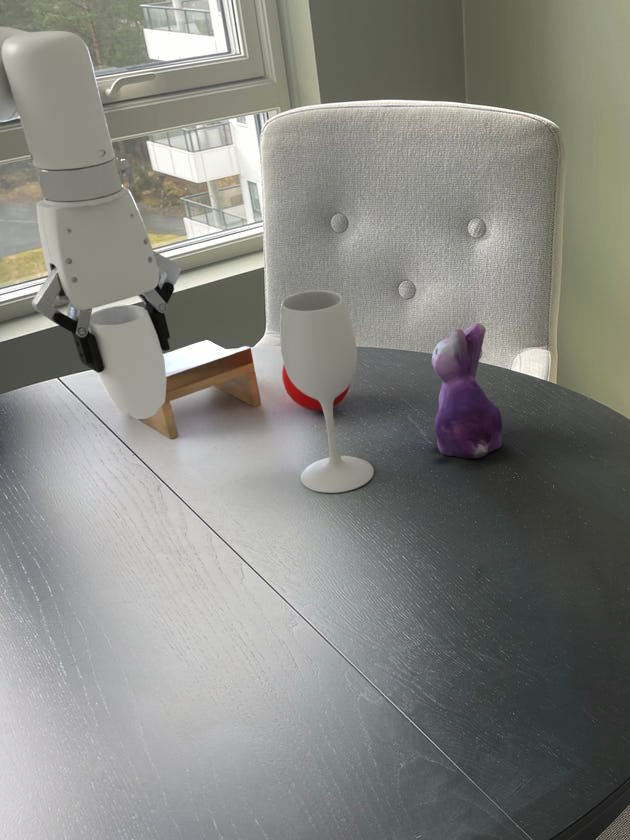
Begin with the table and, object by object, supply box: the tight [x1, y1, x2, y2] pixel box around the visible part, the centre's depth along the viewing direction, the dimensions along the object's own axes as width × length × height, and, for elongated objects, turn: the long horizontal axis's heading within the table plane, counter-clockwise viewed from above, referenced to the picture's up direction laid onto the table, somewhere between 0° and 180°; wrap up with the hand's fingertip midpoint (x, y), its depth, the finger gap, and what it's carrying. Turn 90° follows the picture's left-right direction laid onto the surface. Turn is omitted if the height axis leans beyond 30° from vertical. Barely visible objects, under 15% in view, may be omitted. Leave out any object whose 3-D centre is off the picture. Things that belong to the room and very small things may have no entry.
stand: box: [138, 339, 262, 440], centre depth 130 cm, size 12×14×8 cm
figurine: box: [431, 322, 503, 459], centre depth 117 cm, size 9×10×15 cm
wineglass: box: [279, 289, 375, 494], centre depth 109 cm, size 9×9×21 cm
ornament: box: [281, 363, 351, 412], centre depth 128 cm, size 9×9×10 cm
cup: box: [89, 304, 166, 420], centre depth 109 cm, size 7×7×21 cm
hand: (128, 356), depth 105 cm, fingers closed on cup, 7 cm apart
